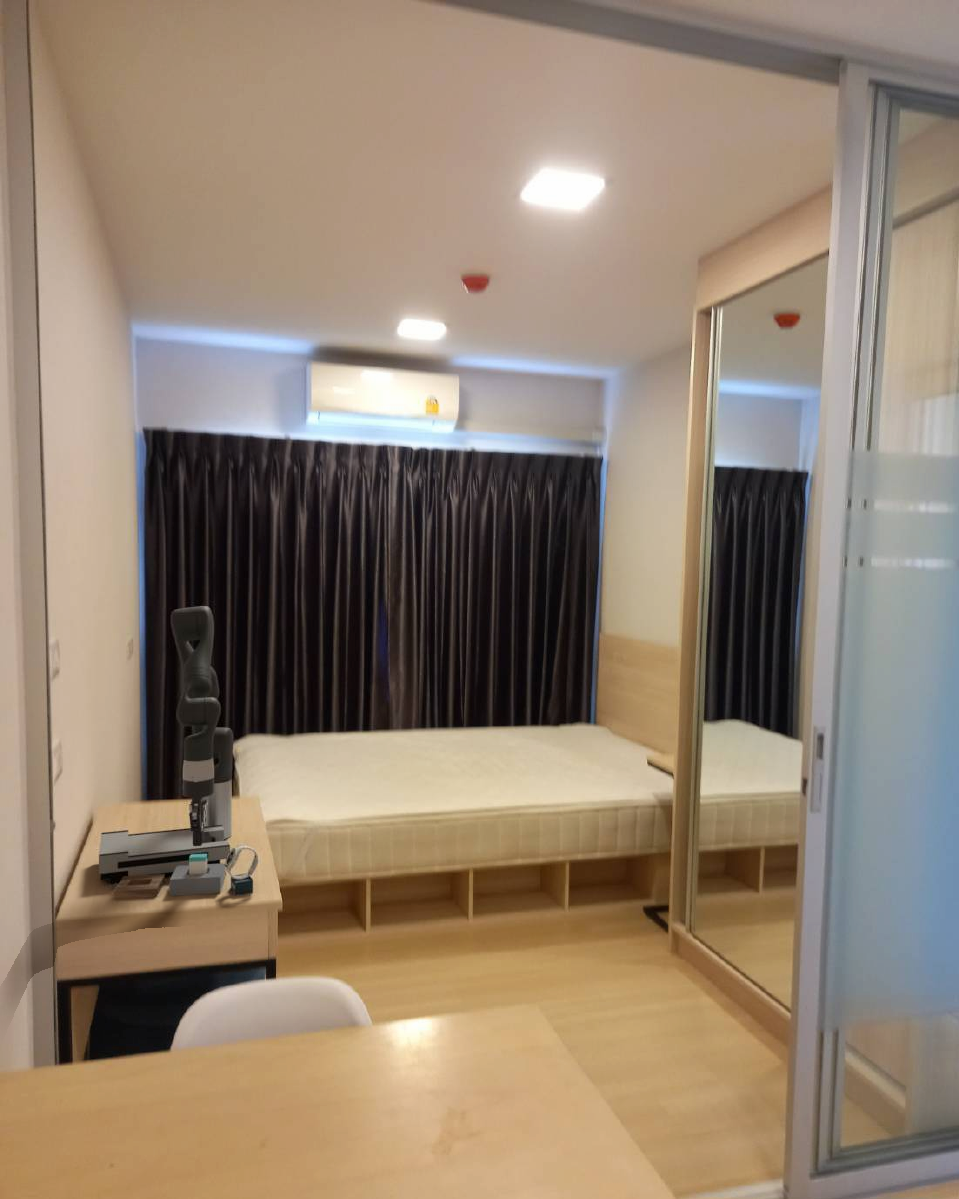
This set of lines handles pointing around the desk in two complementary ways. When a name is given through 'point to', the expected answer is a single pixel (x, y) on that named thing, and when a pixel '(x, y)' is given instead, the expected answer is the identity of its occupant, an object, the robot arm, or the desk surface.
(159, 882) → the brown flat square frame
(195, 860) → the plug
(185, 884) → the port block
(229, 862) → the watch
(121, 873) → the game console
